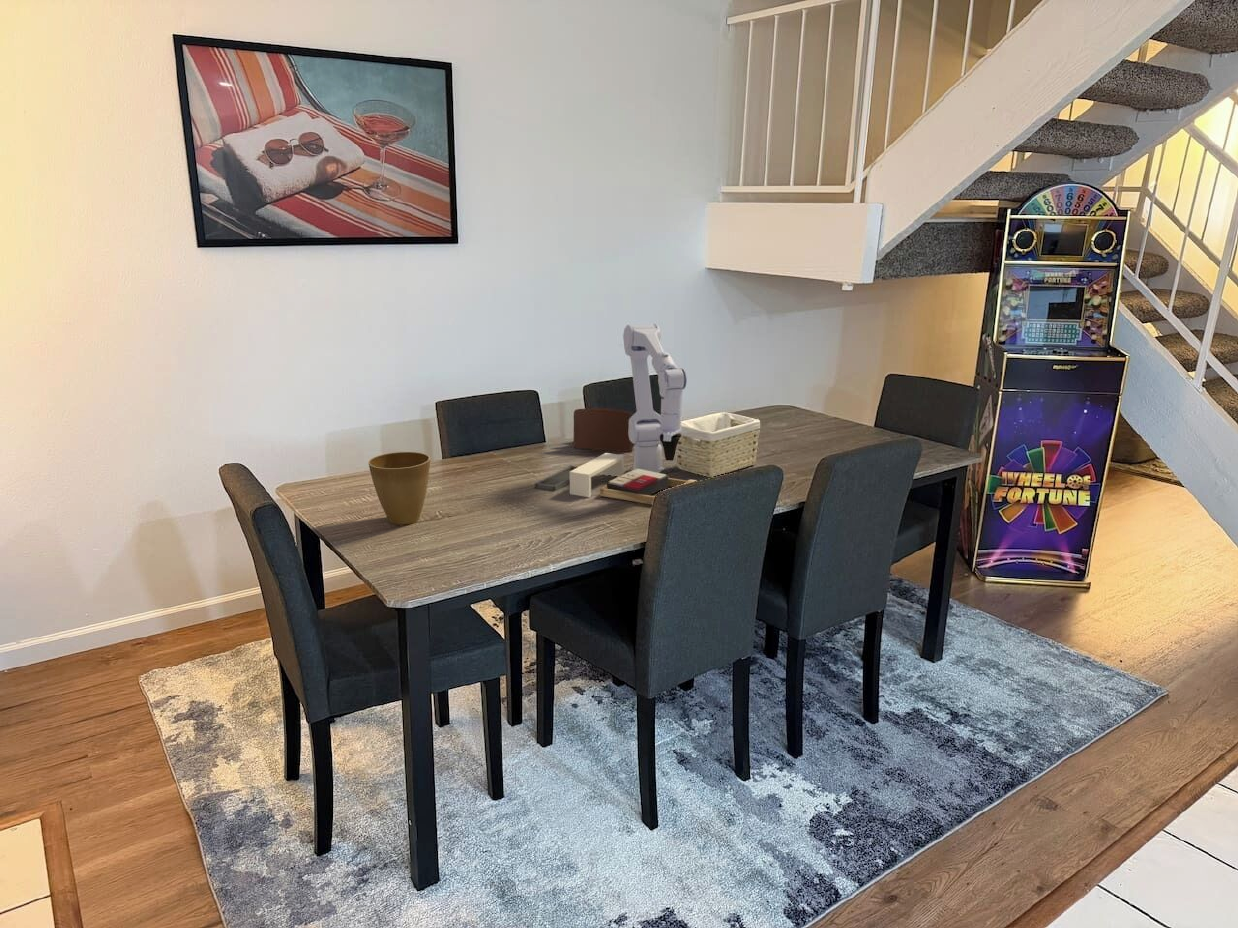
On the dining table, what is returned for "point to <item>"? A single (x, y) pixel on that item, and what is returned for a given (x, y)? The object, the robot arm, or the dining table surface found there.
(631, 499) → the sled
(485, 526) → the dining table surface
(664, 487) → the calculator
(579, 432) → the letter holder
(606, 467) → the tunnel
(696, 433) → the storage basket
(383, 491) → the plant pot
